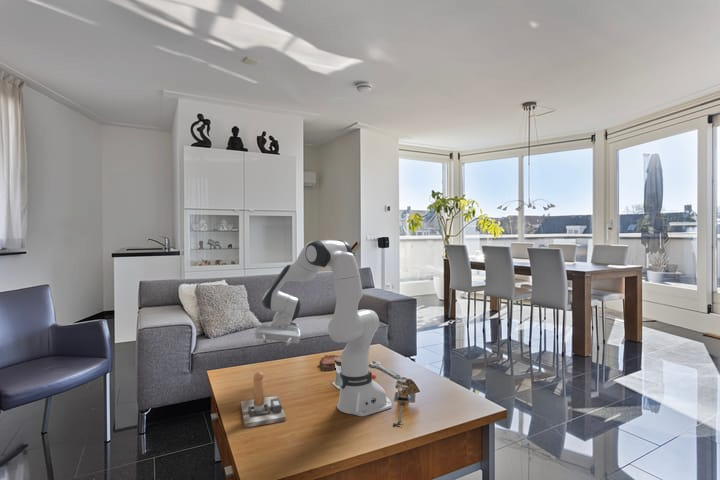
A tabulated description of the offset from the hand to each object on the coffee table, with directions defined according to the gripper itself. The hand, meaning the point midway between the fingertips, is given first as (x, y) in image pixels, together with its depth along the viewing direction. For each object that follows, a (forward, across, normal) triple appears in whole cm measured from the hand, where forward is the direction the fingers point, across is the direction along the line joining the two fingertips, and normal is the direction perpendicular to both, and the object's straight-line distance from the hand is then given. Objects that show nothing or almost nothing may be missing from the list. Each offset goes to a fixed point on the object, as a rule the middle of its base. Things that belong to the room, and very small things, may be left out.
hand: (275, 342), depth 167 cm
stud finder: (+19, +5, +18) cm, 27 cm away
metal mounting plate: (+19, 0, +20) cm, 28 cm away
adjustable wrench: (-22, +55, +21) cm, 63 cm away
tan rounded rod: (+21, -1, +18) cm, 28 cm away
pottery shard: (-32, +29, +28) cm, 51 cm away
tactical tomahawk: (+25, +55, +11) cm, 61 cm away
